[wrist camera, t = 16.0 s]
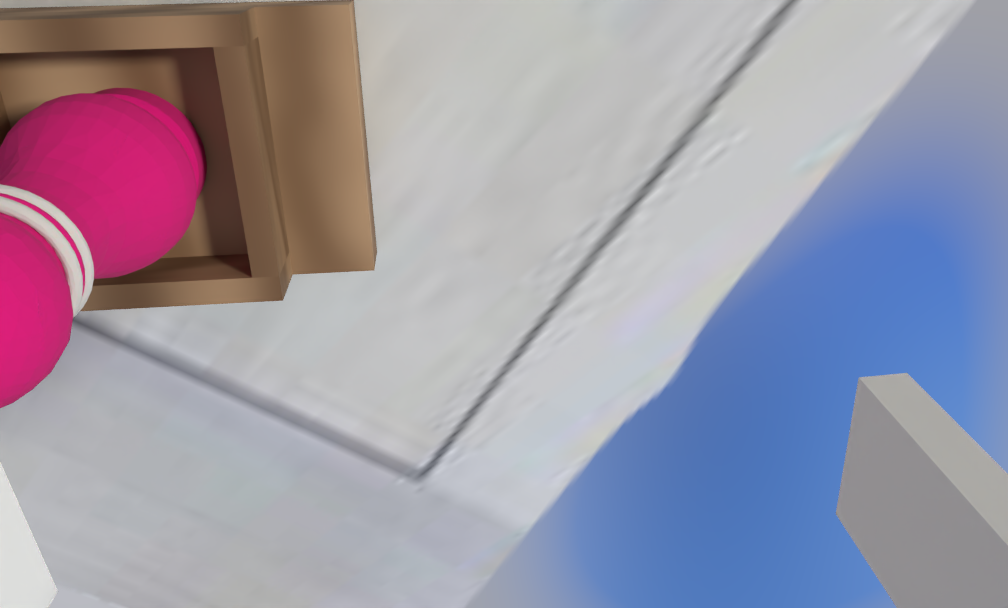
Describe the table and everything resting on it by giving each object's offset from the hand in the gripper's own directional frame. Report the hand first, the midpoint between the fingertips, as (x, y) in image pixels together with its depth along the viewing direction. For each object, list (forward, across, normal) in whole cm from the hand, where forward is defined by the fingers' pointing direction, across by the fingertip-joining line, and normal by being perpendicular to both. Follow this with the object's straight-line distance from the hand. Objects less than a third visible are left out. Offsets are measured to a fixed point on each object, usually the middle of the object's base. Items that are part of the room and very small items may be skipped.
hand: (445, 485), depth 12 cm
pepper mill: (+26, -14, -1) cm, 30 cm away
